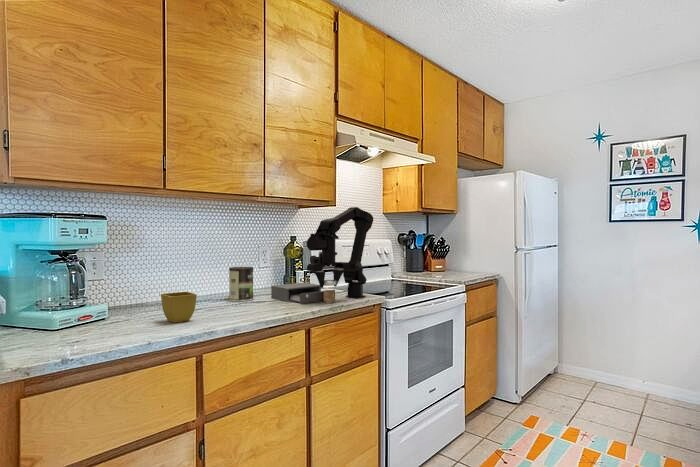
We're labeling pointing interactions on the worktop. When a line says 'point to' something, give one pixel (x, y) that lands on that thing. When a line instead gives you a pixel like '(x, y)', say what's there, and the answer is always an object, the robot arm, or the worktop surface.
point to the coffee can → (240, 284)
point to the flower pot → (178, 306)
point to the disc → (330, 282)
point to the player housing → (292, 290)
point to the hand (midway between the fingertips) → (328, 287)
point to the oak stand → (328, 296)
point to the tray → (309, 297)
